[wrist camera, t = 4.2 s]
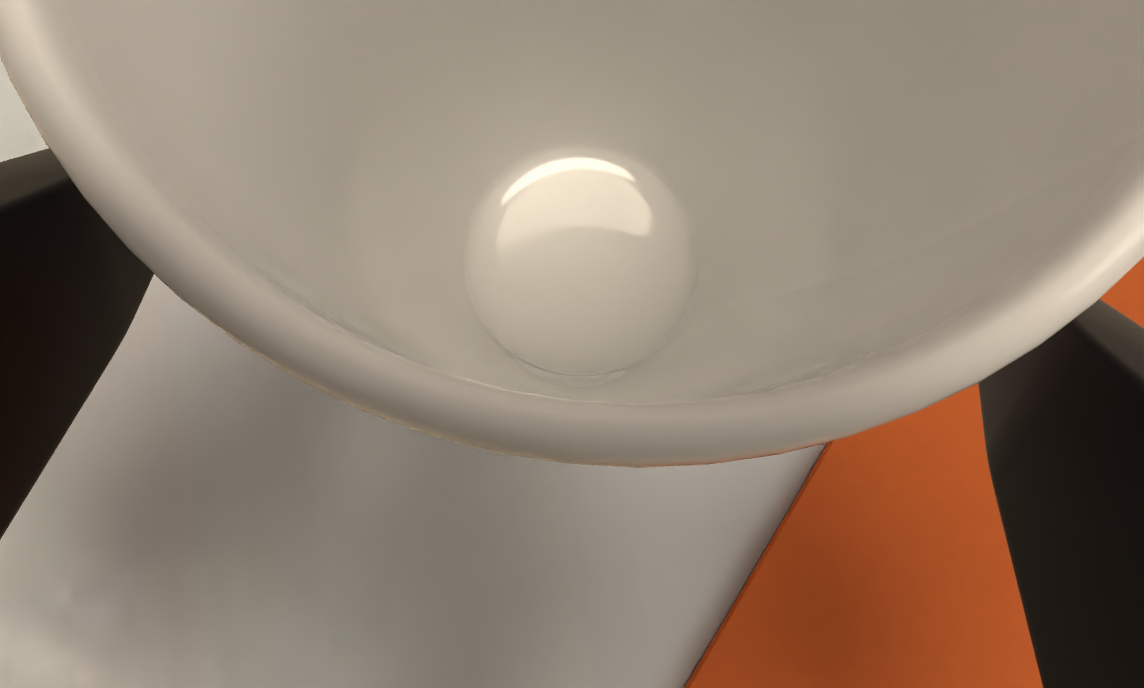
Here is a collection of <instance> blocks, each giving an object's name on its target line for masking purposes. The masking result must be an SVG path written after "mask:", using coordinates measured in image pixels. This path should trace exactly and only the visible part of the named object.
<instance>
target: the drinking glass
mask: <svg viewBox="0 0 1144 688" xmlns="http://www.w3.org/2000/svg"><path fill="white" fill-rule="evenodd" d="M0 57H1V59H2V61H3V64H4V66H5V68H6V71H7V73H8V75H9V78H10V80H11V82H12V84H13V86H14V88H15V89H16V91H17V93H18V95H19V96H20V98H21V100H22V102H23V104H24V105H25V107H26V109H27V111H28V113H29V114H30V116H31V118H32V120H33V122H34V123H35V125H36V127H37V129H38V130H39V132H40V134H41V136H42V138H43V139H44V141H45V143H46V144H47V146H48V147H49V148H50V150H51V151H52V153H53V154H54V156H55V157H56V158H57V160H58V161H59V163H60V164H61V166H62V167H63V168H64V170H65V171H66V173H67V174H68V176H69V177H70V178H71V180H72V181H73V183H74V184H75V185H76V187H77V188H78V190H79V191H80V193H81V194H82V195H83V197H84V198H85V199H86V201H87V202H88V203H89V204H90V205H91V206H92V208H93V209H94V210H95V211H96V212H97V213H98V214H99V216H100V217H101V218H102V219H103V220H104V221H105V222H106V224H107V225H108V226H109V227H110V228H111V229H112V231H113V232H114V233H115V234H116V235H117V236H118V237H119V239H120V240H121V241H122V242H123V243H124V244H125V245H126V247H127V248H128V249H129V250H130V251H131V252H132V253H133V254H134V255H135V256H136V257H137V258H138V259H139V260H140V261H141V262H142V263H143V264H144V265H146V266H147V267H148V268H149V269H150V270H151V271H152V272H153V273H154V274H155V275H156V276H157V277H158V278H159V279H160V280H162V281H163V282H164V283H165V284H166V285H167V286H168V287H169V288H170V289H171V290H172V291H173V292H174V293H175V294H176V295H178V296H179V297H180V298H181V299H182V300H183V301H184V302H186V303H187V304H188V305H189V306H191V307H192V308H193V309H195V310H196V311H197V312H199V313H200V314H201V315H203V316H204V317H205V318H207V319H208V320H209V321H210V322H212V323H213V324H214V325H216V326H217V327H218V328H220V329H221V330H222V331H224V332H225V333H226V334H228V335H229V336H230V337H231V338H233V339H234V340H235V341H237V342H238V343H239V344H241V345H243V346H244V347H246V348H248V349H249V350H251V351H252V352H254V353H256V354H257V355H259V356H261V357H262V358H264V359H265V360H267V361H269V362H270V363H272V364H274V365H275V366H277V367H278V368H280V369H282V370H283V371H285V372H287V373H288V374H290V375H291V376H293V377H295V378H296V379H298V380H300V381H302V382H304V383H306V384H308V385H310V386H312V387H314V388H316V389H318V390H320V391H323V392H325V393H327V394H329V395H331V396H333V397H335V398H337V399H339V400H341V401H343V402H345V403H347V404H349V405H351V406H354V407H356V408H358V409H360V410H362V411H364V412H367V413H370V414H372V415H375V416H378V417H381V418H383V419H386V420H389V421H391V422H394V423H397V424H400V425H402V426H405V427H408V428H410V429H413V430H416V431H419V432H421V433H424V434H427V435H430V436H434V437H437V438H441V439H445V440H449V441H453V442H457V443H461V444H465V445H469V446H472V447H476V448H480V449H484V450H488V451H492V452H496V453H501V454H507V455H514V456H520V457H527V458H533V459H540V460H546V461H553V462H559V463H566V464H580V465H598V466H617V467H635V468H642V467H665V466H687V465H709V464H716V463H723V462H730V461H737V460H744V459H750V458H757V457H764V456H771V455H778V454H782V453H786V452H790V451H794V450H799V449H803V448H807V447H811V446H815V445H819V444H823V443H827V442H831V441H835V440H839V439H843V438H847V437H850V436H853V435H856V434H858V433H861V432H864V431H867V430H869V429H872V428H875V427H878V426H881V425H883V424H886V423H889V422H892V421H895V420H897V419H900V418H903V417H906V416H908V415H911V414H914V413H916V412H918V411H920V410H922V409H925V408H927V407H929V406H931V405H933V404H935V403H937V402H939V401H941V400H943V399H945V398H948V397H950V396H952V395H954V394H956V393H958V392H960V391H962V390H964V389H966V388H969V387H971V386H973V385H975V384H977V383H979V382H980V381H982V380H984V379H985V378H987V377H989V376H990V375H992V374H994V373H995V372H997V371H999V370H1000V369H1002V368H1003V367H1005V366H1007V365H1008V364H1010V363H1012V362H1013V361H1015V360H1017V359H1018V358H1020V357H1022V356H1023V355H1025V354H1027V353H1028V352H1030V351H1031V350H1033V349H1035V348H1036V347H1038V346H1039V345H1041V344H1042V343H1043V342H1045V341H1046V340H1047V339H1049V338H1050V337H1051V336H1052V335H1054V334H1055V333H1056V332H1058V331H1059V330H1060V329H1062V328H1063V327H1064V326H1066V325H1067V324H1068V323H1070V322H1071V321H1072V320H1074V319H1075V318H1076V317H1078V316H1079V315H1080V314H1081V313H1083V312H1084V311H1085V310H1087V309H1088V308H1089V307H1091V306H1092V305H1093V304H1095V303H1096V302H1097V301H1098V300H1099V299H1100V298H1101V297H1102V296H1103V295H1104V294H1105V293H1106V292H1107V291H1108V290H1109V289H1111V288H1112V287H1113V286H1114V285H1115V284H1116V283H1117V282H1118V281H1119V280H1120V279H1121V278H1122V277H1123V276H1124V275H1126V274H1127V273H1128V272H1129V271H1130V270H1131V269H1132V268H1133V267H1134V266H1135V265H1136V264H1137V263H1138V262H1139V261H1140V260H1142V259H1143V258H1144V0H0Z"/></svg>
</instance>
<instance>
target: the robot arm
mask: <svg viewBox="0 0 1144 688" xmlns="http://www.w3.org/2000/svg"><path fill="white" fill-rule="evenodd" d="M153 275H154V273H153V272H152V271H151V270H150V269H149V268H148V267H147V266H146V265H144V264H143V263H142V262H141V261H140V260H139V259H138V258H137V257H136V256H135V255H134V254H133V253H132V252H131V251H130V250H129V249H128V248H127V247H126V245H125V244H124V243H123V242H122V241H121V240H120V239H119V237H118V236H117V235H116V234H115V233H114V232H113V231H112V229H111V228H110V227H109V226H108V225H107V224H106V222H105V221H104V220H103V219H102V218H101V217H100V216H99V214H98V213H97V212H96V211H95V210H94V209H93V208H92V206H91V205H90V204H89V203H88V202H87V201H86V199H85V198H84V197H83V195H82V194H81V193H80V191H79V190H78V188H77V187H76V185H75V184H74V183H73V181H72V180H71V178H70V177H69V176H68V174H67V173H66V171H65V170H64V168H63V167H62V166H61V164H60V163H59V161H58V160H57V158H56V157H55V156H54V154H53V153H52V151H51V150H50V148H49V149H45V150H42V151H38V152H35V153H31V154H28V155H24V156H21V157H17V158H14V159H10V160H7V161H3V162H0V539H1V538H2V536H3V534H4V533H5V531H6V530H7V528H8V526H9V525H10V523H11V521H12V520H13V518H14V517H15V515H16V513H17V512H18V510H19V508H20V507H21V505H22V503H23V502H24V500H25V499H26V497H27V495H28V494H29V492H30V490H31V489H32V487H33V486H34V484H35V482H36V481H37V479H38V477H39V476H40V474H41V473H42V471H43V469H44V468H45V466H46V464H47V463H48V461H49V460H50V458H51V456H52V455H53V453H54V451H55V450H56V448H57V447H58V445H59V443H60V442H61V440H62V438H63V437H64V435H65V433H66V432H67V430H68V429H69V427H70V425H71V424H72V422H73V420H74V419H75V417H76V416H77V414H78V412H79V411H80V409H81V407H82V406H83V404H84V403H85V401H86V399H87V398H88V396H89V394H90V393H91V391H92V390H93V388H94V386H95V385H96V383H97V381H98V380H99V378H100V377H101V375H102V373H103V372H104V370H105V368H106V367H107V365H108V363H109V362H110V360H111V359H112V357H113V355H114V354H115V352H116V350H117V349H118V347H119V345H120V343H121V342H122V340H123V338H124V336H125V335H126V333H127V331H128V329H129V327H130V325H131V323H132V321H133V319H134V317H135V314H136V312H137V310H138V308H139V306H140V303H141V301H142V299H143V297H144V295H145V292H146V290H147V288H148V286H149V284H150V281H151V279H152V277H153ZM978 386H979V395H980V403H981V412H982V421H983V429H984V438H985V446H986V452H987V459H988V465H989V470H990V474H991V479H992V483H993V488H994V492H995V496H996V500H997V504H998V508H999V512H1000V516H1001V520H1002V524H1003V528H1004V532H1005V536H1006V540H1007V544H1008V548H1009V552H1010V556H1011V560H1012V564H1013V568H1014V572H1015V576H1016V580H1017V584H1018V588H1019V592H1020V597H1021V601H1022V605H1023V609H1024V613H1025V617H1026V621H1027V625H1028V629H1029V633H1030V637H1031V641H1032V645H1033V649H1034V653H1035V657H1036V661H1037V665H1038V669H1039V673H1040V677H1041V681H1042V685H1043V688H1144V328H1143V327H1142V326H1140V325H1138V324H1137V323H1135V322H1134V321H1132V320H1131V319H1129V318H1128V317H1126V316H1125V315H1123V314H1122V313H1120V312H1119V311H1117V310H1116V309H1114V308H1113V307H1111V306H1110V305H1108V304H1107V303H1105V302H1104V301H1102V300H1101V299H1099V300H1098V301H1097V302H1096V303H1095V304H1093V305H1092V306H1091V307H1089V308H1088V309H1087V310H1085V311H1084V312H1083V313H1081V314H1080V315H1079V316H1078V317H1076V318H1075V319H1074V320H1072V321H1071V322H1070V323H1068V324H1067V325H1066V326H1064V327H1063V328H1062V329H1060V330H1059V331H1058V332H1056V333H1055V334H1054V335H1052V336H1051V337H1050V338H1049V339H1047V340H1046V341H1045V342H1043V343H1042V344H1041V345H1039V346H1038V347H1036V348H1035V349H1033V350H1031V351H1030V352H1028V353H1027V354H1025V355H1023V356H1022V357H1020V358H1018V359H1017V360H1015V361H1013V362H1012V363H1010V364H1008V365H1007V366H1005V367H1003V368H1002V369H1000V370H999V371H997V372H995V373H994V374H992V375H990V376H989V377H987V378H985V379H984V380H982V381H980V382H979V383H978Z"/></svg>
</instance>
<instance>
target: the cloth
mask: <svg viewBox="0 0 1144 688" xmlns="http://www.w3.org/2000/svg"><path fill="white" fill-rule="evenodd" d="M1100 299H1101V300H1102V301H1104V302H1105V303H1107V304H1108V305H1110V306H1111V307H1113V308H1114V309H1116V310H1117V311H1119V312H1120V313H1122V314H1123V315H1125V316H1126V317H1128V318H1129V319H1131V320H1132V321H1134V322H1135V323H1137V324H1138V325H1140V326H1142V327H1143V328H1144V258H1143V259H1142V260H1140V261H1139V262H1138V263H1137V264H1136V265H1135V266H1134V267H1133V268H1132V269H1131V270H1130V271H1129V272H1128V273H1127V274H1126V275H1124V276H1123V277H1122V278H1121V279H1120V280H1119V281H1118V282H1117V283H1116V284H1115V285H1114V286H1113V287H1112V288H1111V289H1109V290H1108V291H1107V292H1106V293H1105V294H1104V295H1103V296H1102V297H1101V298H1100ZM685 688H1043V685H1042V681H1041V677H1040V673H1039V669H1038V665H1037V661H1036V657H1035V653H1034V649H1033V645H1032V641H1031V637H1030V633H1029V629H1028V625H1027V621H1026V617H1025V613H1024V609H1023V605H1022V601H1021V597H1020V592H1019V588H1018V584H1017V580H1016V576H1015V572H1014V568H1013V564H1012V560H1011V556H1010V552H1009V548H1008V544H1007V540H1006V536H1005V532H1004V528H1003V524H1002V520H1001V516H1000V512H999V508H998V504H997V500H996V496H995V492H994V488H993V483H992V479H991V474H990V470H989V465H988V459H987V452H986V446H985V438H984V429H983V421H982V412H981V403H980V395H979V386H978V383H977V384H975V385H973V386H971V387H969V388H966V389H964V390H962V391H960V392H958V393H956V394H954V395H952V396H950V397H948V398H945V399H943V400H941V401H939V402H937V403H935V404H933V405H931V406H929V407H927V408H925V409H922V410H920V411H918V412H916V413H914V414H911V415H908V416H906V417H903V418H900V419H897V420H895V421H892V422H889V423H886V424H883V425H881V426H878V427H875V428H872V429H869V430H867V431H864V432H861V433H858V434H856V435H853V436H850V437H847V438H843V439H839V440H835V441H831V442H828V444H827V445H826V447H825V449H824V450H823V452H822V454H821V456H820V457H819V459H818V461H817V462H816V464H815V466H814V468H813V469H812V471H811V473H810V474H809V476H808V478H807V479H806V481H805V483H804V485H803V486H802V488H801V490H800V491H799V493H798V495H797V497H796V498H795V500H794V502H793V503H792V505H791V507H790V509H789V510H788V512H787V514H786V515H785V517H784V519H783V521H782V522H781V524H780V526H779V527H778V529H777V531H776V533H775V534H774V536H773V538H772V539H771V541H770V543H769V544H768V546H767V548H766V550H765V551H764V553H763V555H762V556H761V558H760V560H759V562H758V563H757V565H756V567H755V568H754V570H753V572H752V574H751V575H750V577H749V579H748V580H747V582H746V584H745V586H744V587H743V589H742V591H741V592H740V594H739V596H738V597H737V599H736V601H735V603H734V604H733V606H732V608H731V609H730V611H729V613H728V615H727V616H726V618H725V620H724V621H723V623H722V625H721V627H720V628H719V630H718V632H717V633H716V635H715V637H714V639H713V640H712V642H711V644H710V645H709V647H708V649H707V650H706V652H705V654H704V656H703V657H702V659H701V661H700V662H699V664H698V666H697V668H696V669H695V671H694V673H693V674H692V676H691V678H690V680H689V681H688V683H687V685H686V686H685Z"/></svg>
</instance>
